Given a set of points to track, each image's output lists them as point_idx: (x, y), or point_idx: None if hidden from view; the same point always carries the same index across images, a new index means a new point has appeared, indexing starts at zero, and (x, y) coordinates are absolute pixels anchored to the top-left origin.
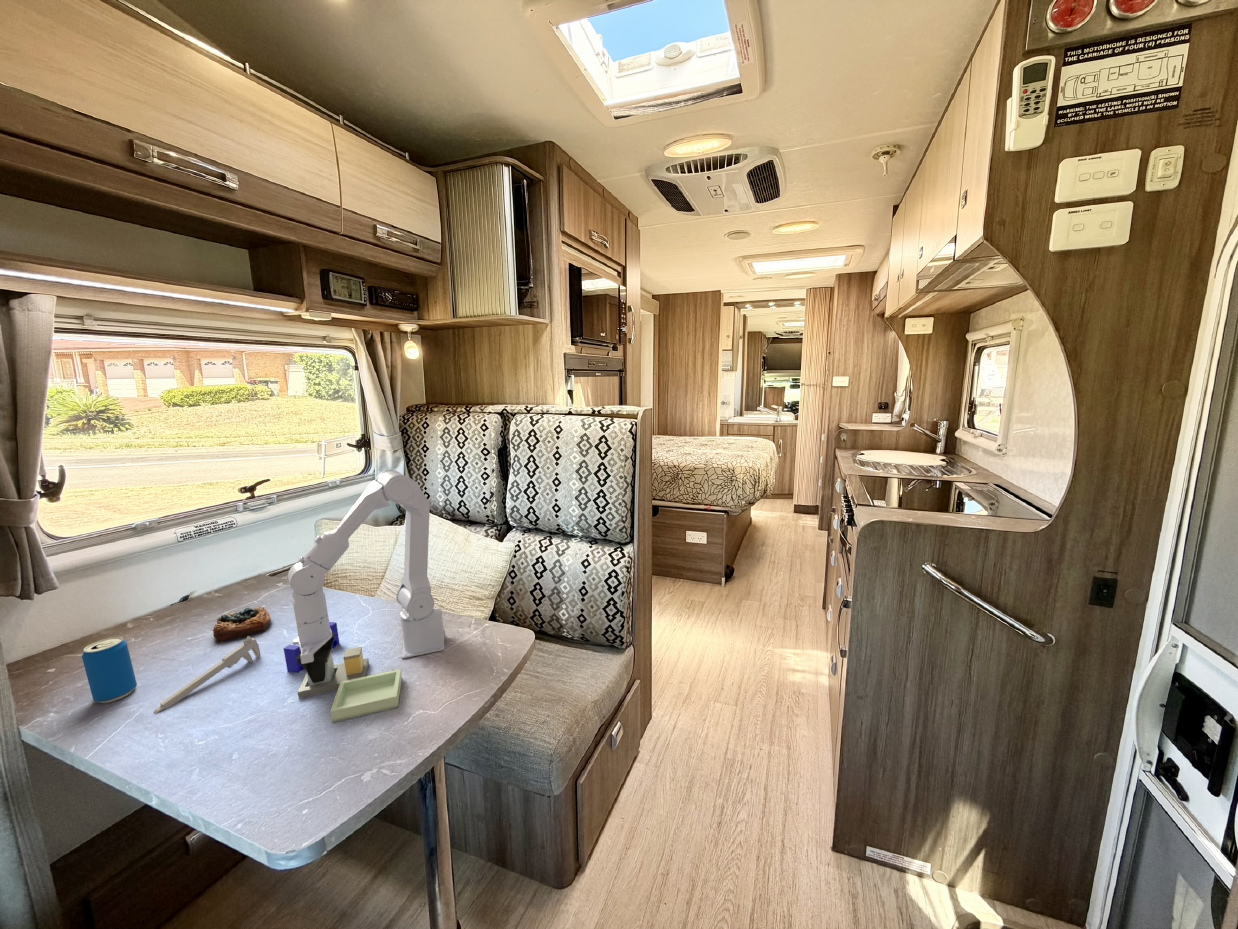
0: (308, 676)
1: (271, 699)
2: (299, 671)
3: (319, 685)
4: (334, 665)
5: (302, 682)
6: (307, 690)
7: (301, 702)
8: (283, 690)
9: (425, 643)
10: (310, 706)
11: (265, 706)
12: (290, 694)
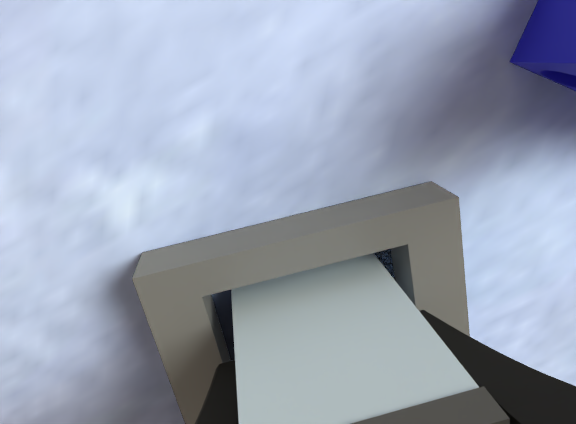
0: (238, 365)
1: (154, 18)
2: (523, 65)
3: None
4: None
5: (272, 245)
6: (155, 338)
7: (95, 294)
8: (274, 60)
9: None
10: (45, 377)
11: (53, 17)
12: (207, 154)
